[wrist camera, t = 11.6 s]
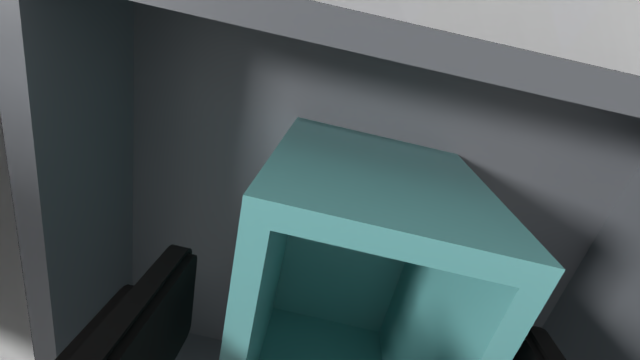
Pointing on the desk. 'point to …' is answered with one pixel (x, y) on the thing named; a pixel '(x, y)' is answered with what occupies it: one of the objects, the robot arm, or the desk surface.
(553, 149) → the tray
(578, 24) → the desk surface
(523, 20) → the desk surface
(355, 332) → the small crate
